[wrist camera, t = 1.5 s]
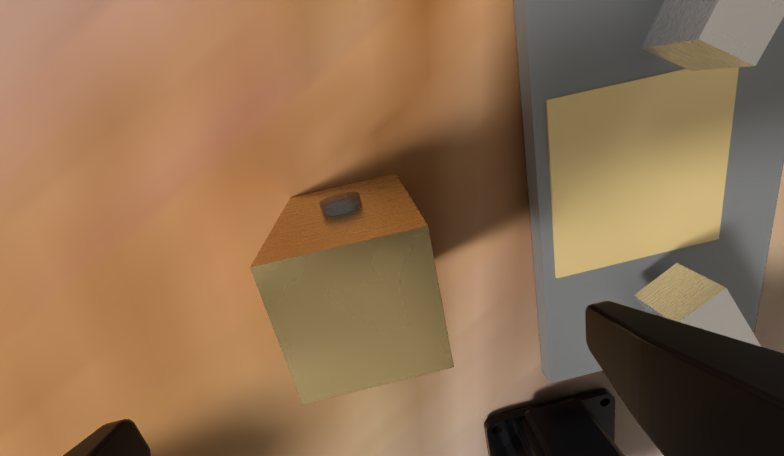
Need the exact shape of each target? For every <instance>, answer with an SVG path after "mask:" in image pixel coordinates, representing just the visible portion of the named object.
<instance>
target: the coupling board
mask: <svg viewBox="0 0 784 456" xmlns="http://www.w3.org/2000/svg"><path fill="white" fill-rule="evenodd" d="M513 1H514V14H515V27H516V40H517V53H518V65H519V78H520V91H521V104H522V117H523V130H524V143H525V156H526V168H527V181H528V194H529V207H530V220H531V233H532V246H533V258H534V271H535V284H536V297H537V310H538V323H539V336H540V348H541V361H542V372H543V373H544V375H545V376H546V377H547V379H548V380H549V382H550V383H555V382H559V381H563V380H567V379H571V378H575V377H579V376H583V375H587V374H591V373H595V372H599V371H603V370H602V369H601V367H600V366H599V364H598V363H597V361H596V360H595V358H594V357H593V355H592V354H591V352H590V350H589V348H588V346H587V342H586V328H585V310H586V307H587V306H588V305H590V304H594V303H598V302H602V301H612V302H615V303H618V304H621V305H625V306H628V307H631V308H635V309H638V310H641V311H645V310H644V309H643V307H642V306H641V305H640V303H639V302H638V300H637V299H636V298H635V296H634V295H635V294H636V293H637V292H639V291H640V290H641V289H643V288H644V287H645V286H647V285H648V284H649V283H651V282H652V281H653V280H655V279H656V278H657V277H659V276H660V275H661V274H663V273H664V272H665V271H667V270H668V269H669V268H671V267H672V266H673V265H675V264H676V263H678V264H680V265H682V266H684V267H686V268H688V269H690V270H692V271H694V272H696V273H698V274H700V275H702V276H704V277H706V278H708V279H710V280H712V281H714V282H716V283H718V284H720V285H722V286H724V287H726V288H727V290H728V291H729V293H730V295H731V296H732V298H733V300H734V301H735V303H736V305H737V307H738V308H739V310H740V312H741V313H742V315H743V317H744V318H745V320H746V322H747V323H748V325H749V327H750V328H751V330H752V332H755V326H756V320H757V315H758V309H759V303H760V297H761V291H762V285H763V279H764V274H765V268H766V262H767V256H768V250H769V244H770V238H771V233H772V227H773V221H774V215H775V209H776V203H777V197H778V192H779V186H780V180H781V174H782V168H783V162H784V17H783V19H782V21H781V22H780V24H779V26H778V28H777V29H776V31H775V33H774V35H773V36H772V38H771V40H770V41H769V43H768V45H767V47H766V48H765V50H764V52H763V54H762V55H761V57H760V59H759V61H758V62H757V64H756V66H749V67H736V68H723V69H710V70H697V71H690V70H688V69H686V68H684V67H681V66H679V65H677V64H675V63H672V62H670V61H668V60H666V59H663V58H661V57H659V56H657V55H654V54H652V53H650V52H648V51H645V50H643V49H641V48H642V46H643V44H644V42H645V40H646V38H647V35H648V33H649V31H650V29H651V27H652V25H653V23H654V21H655V19H656V17H657V15H658V13H659V11H660V8H661V6H662V4H663V2H664V0H513ZM645 312H646V311H645Z"/></svg>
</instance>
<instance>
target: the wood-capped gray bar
mask: <svg viewBox="0 0 784 456" xmlns="http://www.w3.org/2000/svg"><path fill="white" fill-rule="evenodd" d="M783 17H784V0H664V2H663V4H662V6H661V8H660V11H659V13H658V15H657V17H656V19H655V21H654V23H653V25H652V27H651V29H650V31H649V33H648V35H647V38H646V40H645V42H644V44H643V46H642V48H641V49H643V50H645V51H648V52H650V53H652V54H654V55H657V56H659V57H661V58H663V59H666V60H668V61H670V62H672V63H675V64H677V65H679V66H681V67H684V68H686V69H688V70H690V71H697V70H710V69H723V68H736V67H749V66H756V64H757V62H758V61H759V59H760V57H761V55H762V54H763V52H764V50H765V48H766V47H767V45H768V43H769V41H770V40H771V38H772V36H773V35H774V33H775V31H776V29H777V28H778V26H779V24H780V22H781V21H782V19H783ZM634 296H635V298H636V299H637V300H638V302H639V303H640V305H641V306H642V307H643V309H644V310H645V311H646V312H648V313H651V314H655V315H658V316H661V317H664V318H668V319H671V320H674V321H678V322H681V323H684V324H688V325H691V326H694V327H698V328H701V329H704V330H707V331H711V332H714V333H717V334H721V335H724V336H727V337H731V338H734V339H737V340H741V341H744V342H747V343H751V344H754V345H757V346H760V347H761V345H760V344H759V342H758V340H757V338H756V337H755V335H754V333H753V332H752V330H751V328H750V327H749V325H748V323H747V322H746V320H745V318H744V317H743V315H742V313H741V312H740V310H739V308H738V307H737V305H736V303H735V301H734V300H733V298H732V296H731V295H730V293H729V291H728V290H727V288H726V287H724V286H722V285H720V284H718V283H716V282H714V281H712V280H710V279H708V278H706V277H704V276H702V275H700V274H698V273H696V272H694V271H692V270H690V269H688V268H686V267H684V266H682V265H680V264H678V263H676V264H675V265H673V266H672V267H671V268H669V269H668V270H667V271H665V272H664V273H663V274H661V275H660V276H659V277H657V278H656V279H655V280H653V281H652V282H651V283H649V284H648V285H647V286H645V287H644V288H643V289H641V290H640V291H639V292H637V293H636V294H635V295H634Z"/></svg>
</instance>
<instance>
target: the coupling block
mask: <svg viewBox="0 0 784 456" xmlns="http://www.w3.org/2000/svg"><path fill="white" fill-rule="evenodd" d="M250 269H251V271H252V274H253V276H254V279H255V282H256V284H257V287H258V290H259V292H260V295H261V297H262V300H263V303H264V305H265V308H266V310H267V313H268V316H269V318H270V321H271V323H272V326H273V329H274V331H275V334H276V337H277V339H278V342H279V344H280V347H281V350H282V352H283V355H284V357H285V360H286V363H287V365H288V368H289V370H290V373H291V376H292V378H293V381H294V384H295V386H296V389H297V391H298V394H299V397H300V399H301V402H302V404H303V405H304V404H308V403H312V402H316V401H320V400H324V399H328V398H332V397H336V396H340V395H344V394H348V393H352V392H356V391H360V390H364V389H368V388H372V387H376V386H380V385H384V384H388V383H392V382H396V381H400V380H404V379H408V378H412V377H416V376H420V375H424V374H428V373H432V372H436V371H440V370H444V369H448V368H452V367H454V365H453V360H452V354H451V349H450V343H449V338H448V332H447V327H446V321H445V316H444V311H443V305H442V300H441V294H440V289H439V283H438V278H437V272H436V267H435V262H434V256H433V251H432V245H431V240H430V234H429V229H428V225H427V223H426V222H425V220H424V219H423V217H422V215H421V214H420V212H419V210H418V209H417V207H416V206H415V204H414V202H413V201H412V199H411V198H410V196H409V194H408V193H407V191H406V190H405V188H404V186H403V185H402V183H401V181H400V180H399V178H398V177H397V175H396V173H395V174H391V175H387V176H382V177H378V178H374V179H369V180H365V181H361V182H356V183H352V184H347V185H343V186H339V187H334V188H330V189H326V190H321V191H317V192H313V193H308V194H304V195H300V196H295V197H291V198H290V199H289V201H288V203H287V204H286V206H285V208H284V210H283V211H282V213H281V215H280V216H279V218H278V220H277V222H276V223H275V225H274V227H273V229H272V230H271V232H270V234H269V235H268V237H267V239H266V241H265V242H264V244H263V246H262V248H261V249H260V251H259V253H258V255H257V256H256V258H255V260H254V261H253V263H252V265H251V267H250Z"/></svg>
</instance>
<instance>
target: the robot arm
mask: <svg viewBox="0 0 784 456" xmlns="http://www.w3.org/2000/svg"><path fill="white" fill-rule="evenodd" d="M585 328H586V342H587V346H588V348H589V350H590V352H591V354H592V355H593V357H594V358H595V360H596V361H597V363H598V364H599V366H600V367H601V369H602V370H603V372H604V373H605V375H606V376H607V378H608V379H609V381H610V382H611V384H612V385H613V387H614V388H615V390H616V391H617V393H618V394H619V396H620V397H621V399H622V400H623V402H624V403H625V405H626V406H627V408H628V409H629V411H630V412H631V414H632V415H633V416H634V418H635V419H636V421H637V422H638V423H639V425H640V426H641V427H642V429H643V430H644V431H645V432H646V434H647V435H648V436H649V438H650V439H651V440H652V441H653V442H654V444H655V445H656V446H657V447H658V449H659V450H660V451H661V452H662V454H663V455H664V456H784V353H780V352H777V351H774V350H770V349H767V348H764V347H760V346H757V345H754V344H751V343H747V342H744V341H741V340H737V339H734V338H731V337H727V336H724V335H721V334H717V333H714V332H711V331H707V330H704V329H701V328H698V327H694V326H691V325H688V324H684V323H681V322H678V321H674V320H671V319H668V318H664V317H661V316H658V315H655V314H651V313H648V312H645V311H641V310H638V309H635V308H631V307H628V306H625V305H621V304H618V303H615V302H612V301H602V302H598V303H594V304H590V305H588V306H587V307H586V310H585ZM614 418H615V399H614V397H613V395H612V394H611V393H610V392H609V391H608V390H607V389H605V388H600V389H596V390H592V391H588V392H584V393H580V394H576V395H572V396H568V397H564V398H561V399H557V400H553V401H549V402H545V403H541V404H537V405H533V406H529V407H525V408H521V409H518V410H514V411H510V412H506V413H502V414H498V415H494V416H491V417H489V418H488V419H486V421H485V422H484V429H485V435H486V442H487V448H488V454H489V456H624V454H623V453H622V452H621V451H620V449H619V448H618V447H617V445H616V444H615V443H614ZM63 456H151V452H150V448H149V446H148V445H147V443H146V441H145V440H144V438H143V436H142V435H141V433H140V431H139V430H138V428H137V427H136V425H135V423H134V422H133V421H131V420H129V419H124V420H120V421H116V422H111V423H108V424H105V425H103V426H102V427H100V428H99V429H98V430H96V431H95V432H94V433H92V434H91V435H90V436H88V437H87V438H86V439H84V440H83V441H82V442H80V443H79V444H78V445H76V446H75V447H74V448H73V449H71V450H70V451H69V452H67V453H66V454H65V455H63Z"/></svg>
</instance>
